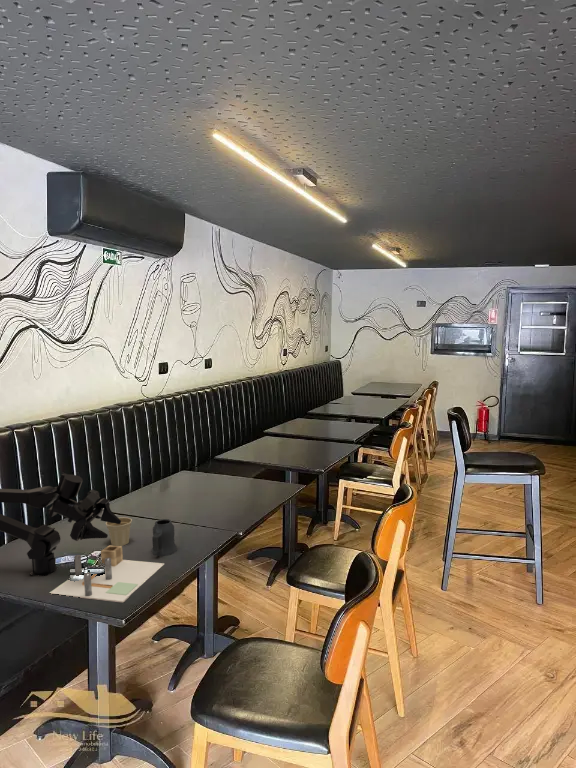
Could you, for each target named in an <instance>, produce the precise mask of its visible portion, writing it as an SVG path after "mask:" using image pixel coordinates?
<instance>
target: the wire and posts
mask: <svg viewBox="0 0 576 768" xmlns="http://www.w3.org/2000/svg"><path fill="white" fill-rule="evenodd" d="M73 558H74V572H75V573H74V575H76V576H79V575H81V572H82V569H83V568H82V555H81V554H76V555H74V556H73ZM96 575H97V574H93V575H92V576H91V573H89V572H88V573H85V574H84V582H82V585H84V588H85V596H91V595H92V586H93V587H103V588H111V587H113V585H106V584H97V583H91V580H92V579H93V578H94V577H95V576H96ZM105 578H106V580H110V579H112V566H111V558H105Z"/></svg>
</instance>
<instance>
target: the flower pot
mask: <svg viewBox="0 0 576 768" xmlns="http://www.w3.org/2000/svg"><path fill="white" fill-rule="evenodd" d="M118 518H119V519H120V520H121V523H120V524H115V523H110V522H105V525H106V527H107V530H108V533H109V539H110V545H112V546H122V547H123V546H126V545H127V544H129V542H130V532H131V525H132V521H133V519H132V518H131V517H130V518H129V517H123V516H122V517H118Z"/></svg>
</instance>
